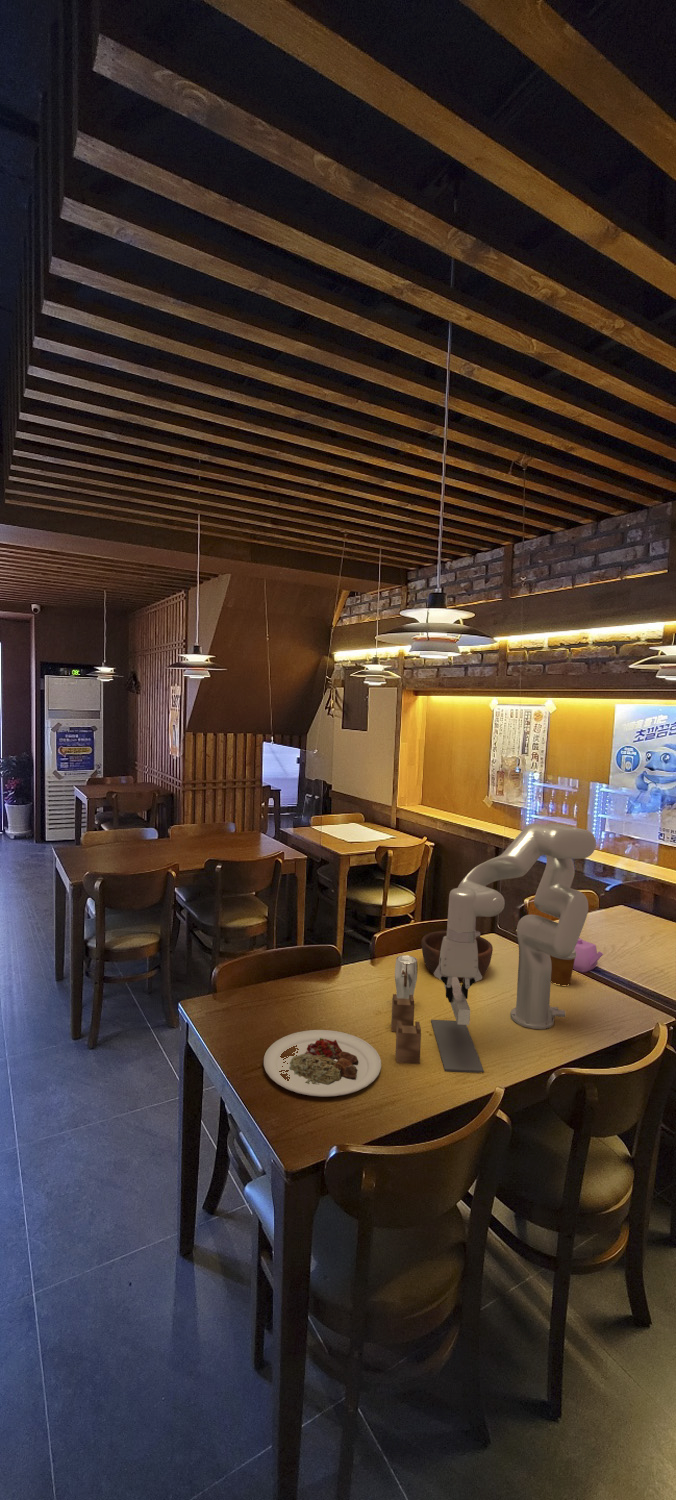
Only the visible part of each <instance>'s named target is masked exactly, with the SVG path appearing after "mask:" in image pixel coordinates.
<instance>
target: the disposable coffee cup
mask: <svg viewBox="0 0 676 1500" xmlns="http://www.w3.org/2000/svg"><path fill="white" fill-rule="evenodd" d="M576 956H577V954H576V951H575V949H574V951H573V953H572V954H571V955H570V956H569V957H568V958H565V959H559V958H556V957H553V956H551V955H550V958H551V963H552V971H551V981H552V982H553V983H556V984H560V985H568V984H570V985H571V979H572V976H573V975H572V974H573V971H574V970H573V966H574V961H575V958H576ZM552 982H551V983H552ZM553 983H552V984H553Z"/></svg>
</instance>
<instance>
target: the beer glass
mask: <svg viewBox="0 0 676 1500" xmlns="http://www.w3.org/2000/svg"><path fill="white" fill-rule="evenodd" d="M394 981H395V991H396V995H397V998H402V999H409V995H413V998H414V997H415V988H416V985H417V981H418V959H417V958H416V957H414V956H412V955H398V956H396V958H395V966H394Z"/></svg>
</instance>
